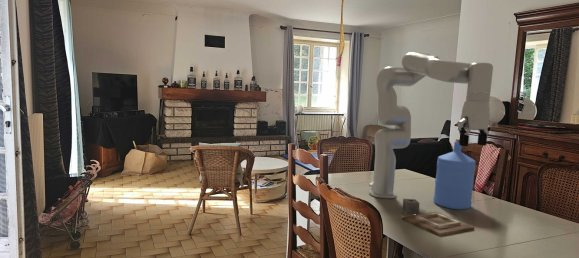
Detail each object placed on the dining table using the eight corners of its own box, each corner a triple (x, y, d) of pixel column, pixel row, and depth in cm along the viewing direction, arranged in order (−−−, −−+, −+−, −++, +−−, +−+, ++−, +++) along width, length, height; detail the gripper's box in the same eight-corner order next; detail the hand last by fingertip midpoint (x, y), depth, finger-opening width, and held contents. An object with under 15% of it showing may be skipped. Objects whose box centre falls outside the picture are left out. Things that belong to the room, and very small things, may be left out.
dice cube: (414, 210, 160) (415, 199, 160) (418, 214, 155) (419, 202, 155) (402, 210, 160) (403, 198, 159) (406, 214, 155) (407, 202, 155)
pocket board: (402, 218, 149) (402, 213, 149) (435, 213, 157) (435, 209, 157) (439, 236, 133) (440, 230, 133) (474, 229, 142) (474, 224, 141)
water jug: (475, 212, 163) (482, 146, 159) (436, 207, 166) (442, 143, 162) (466, 201, 178) (472, 141, 175) (430, 197, 181) (436, 139, 178)
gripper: (484, 98, 144) (479, 143, 146) (452, 96, 136) (447, 144, 138) (503, 99, 137) (497, 146, 139) (470, 97, 129) (465, 148, 131)
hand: (472, 145), depth 138 cm, fingers open, 9 cm apart
